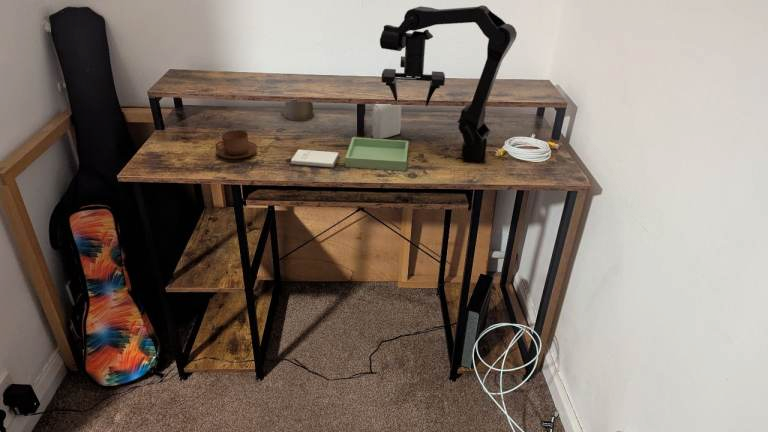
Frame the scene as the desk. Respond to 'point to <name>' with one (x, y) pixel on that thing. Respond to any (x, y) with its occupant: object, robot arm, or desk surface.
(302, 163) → the hard drive
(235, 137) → the cup and saucer
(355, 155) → the tray
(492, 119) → the desk surface
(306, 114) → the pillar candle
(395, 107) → the white rounded tower
